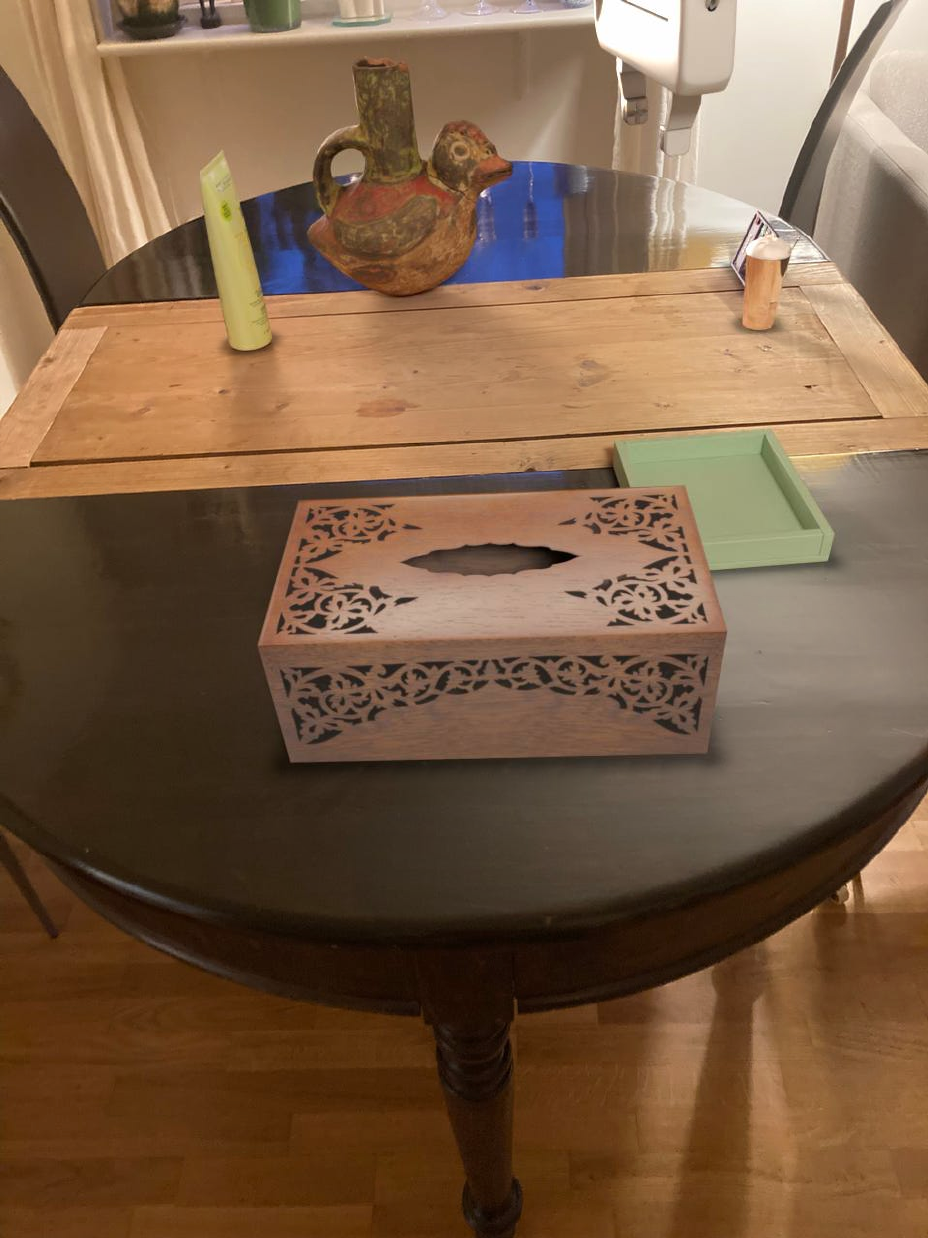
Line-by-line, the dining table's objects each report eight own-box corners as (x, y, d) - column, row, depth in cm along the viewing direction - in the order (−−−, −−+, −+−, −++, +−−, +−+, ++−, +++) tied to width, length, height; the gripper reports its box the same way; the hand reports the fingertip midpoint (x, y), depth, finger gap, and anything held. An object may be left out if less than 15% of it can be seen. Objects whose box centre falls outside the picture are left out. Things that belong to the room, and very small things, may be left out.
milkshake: (773, 338, 98) (789, 242, 92) (728, 326, 101) (740, 233, 95) (793, 323, 101) (810, 229, 94) (749, 312, 104) (763, 220, 97)
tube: (282, 344, 105) (246, 159, 92) (242, 358, 103) (198, 170, 90) (261, 329, 109) (223, 149, 96) (221, 341, 107) (177, 159, 94)
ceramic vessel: (507, 316, 107) (499, 70, 91) (295, 313, 111) (250, 78, 95) (525, 262, 120) (521, 37, 103) (334, 261, 124) (301, 46, 108)
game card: (750, 208, 110) (771, 233, 103) (789, 220, 111) (812, 246, 104) (725, 262, 114) (743, 291, 107) (762, 274, 115) (783, 302, 108)
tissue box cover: (290, 762, 58) (257, 645, 51) (322, 612, 69) (298, 500, 62) (706, 753, 56) (727, 631, 50) (672, 601, 67) (685, 485, 61)
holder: (766, 454, 81) (771, 428, 80) (828, 561, 70) (835, 533, 68) (613, 466, 81) (614, 440, 80) (648, 575, 70) (650, 548, 68)
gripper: (775, -86, 54) (746, 168, 63) (661, -104, 69) (651, 103, 78) (671, -74, 53) (657, 181, 62) (579, -94, 69) (579, 112, 78)
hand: (653, 137), depth 70 cm, fingers open, 8 cm apart
